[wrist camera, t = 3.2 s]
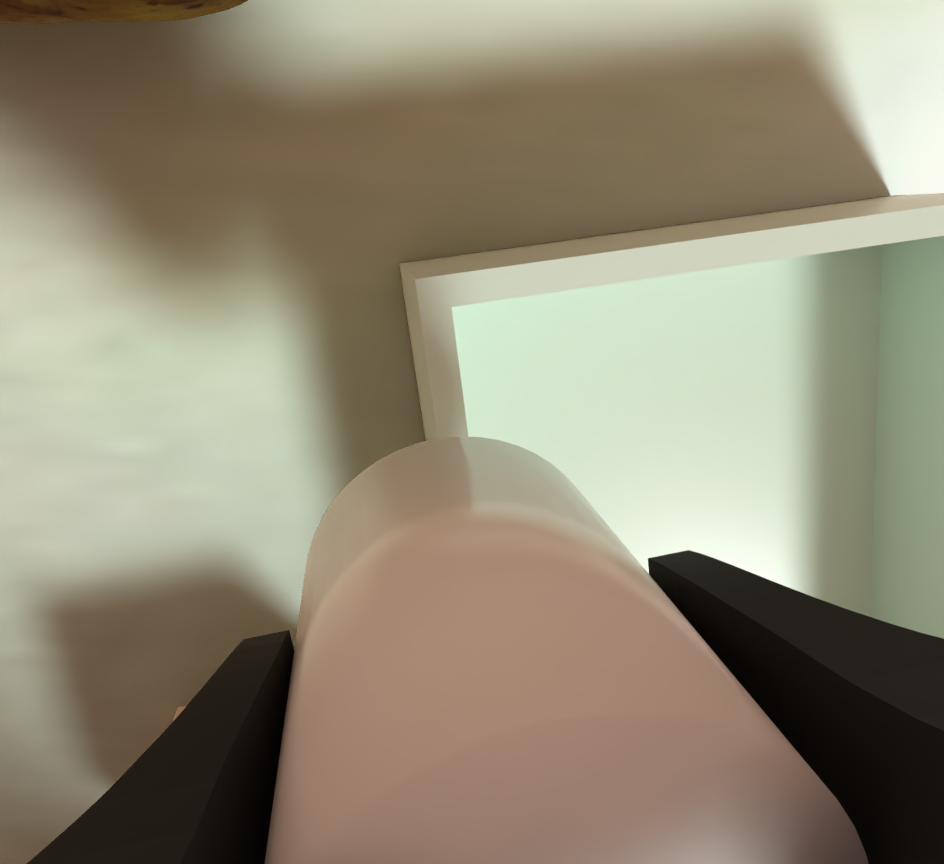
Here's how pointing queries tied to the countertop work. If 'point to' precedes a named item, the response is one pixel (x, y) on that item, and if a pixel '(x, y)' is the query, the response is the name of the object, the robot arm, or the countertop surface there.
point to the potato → (108, 10)
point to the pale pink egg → (518, 690)
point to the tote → (720, 388)
